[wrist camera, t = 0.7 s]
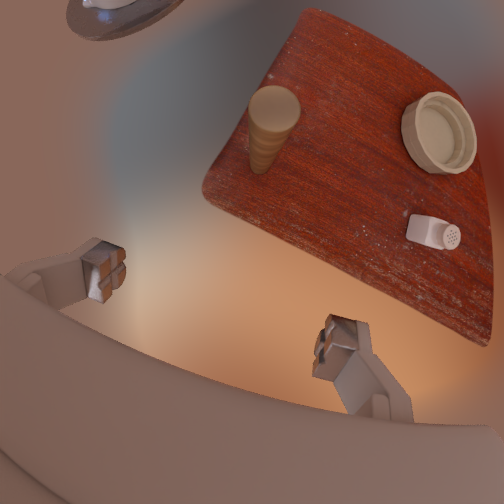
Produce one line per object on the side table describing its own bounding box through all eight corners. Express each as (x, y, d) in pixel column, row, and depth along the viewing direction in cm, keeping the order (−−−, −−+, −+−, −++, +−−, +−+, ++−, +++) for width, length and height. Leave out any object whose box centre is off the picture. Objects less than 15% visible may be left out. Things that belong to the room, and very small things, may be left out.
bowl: (387, 106, 37) (402, 96, 32) (443, 96, 36) (460, 88, 31) (414, 183, 39) (431, 182, 34) (466, 165, 38) (485, 163, 34)
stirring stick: (247, 159, 39) (240, 93, 13) (265, 152, 39) (289, 79, 13) (253, 177, 39) (259, 139, 14) (272, 170, 39) (308, 123, 13)
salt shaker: (428, 219, 40) (465, 225, 31) (423, 244, 41) (458, 255, 32) (409, 212, 40) (444, 218, 31) (403, 238, 41) (437, 249, 31)
